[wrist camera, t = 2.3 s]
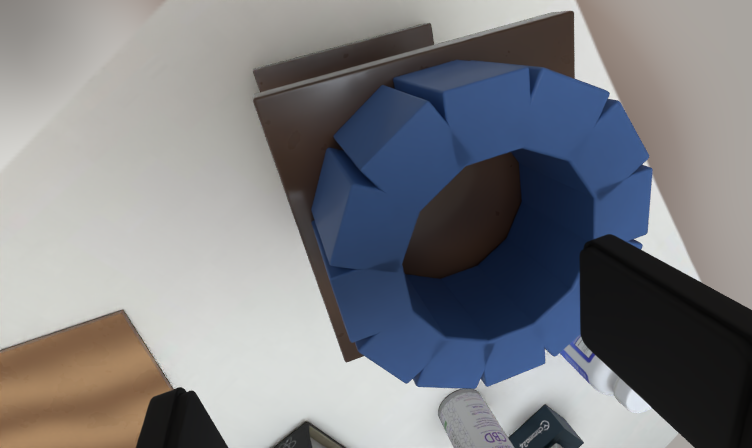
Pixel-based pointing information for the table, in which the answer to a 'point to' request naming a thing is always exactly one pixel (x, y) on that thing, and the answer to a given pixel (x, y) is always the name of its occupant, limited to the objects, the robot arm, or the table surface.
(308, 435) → the book
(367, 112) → the ring
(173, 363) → the table surface
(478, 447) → the container
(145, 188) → the table surface
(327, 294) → the platform
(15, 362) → the mat
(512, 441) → the watch
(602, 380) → the pill bottle
